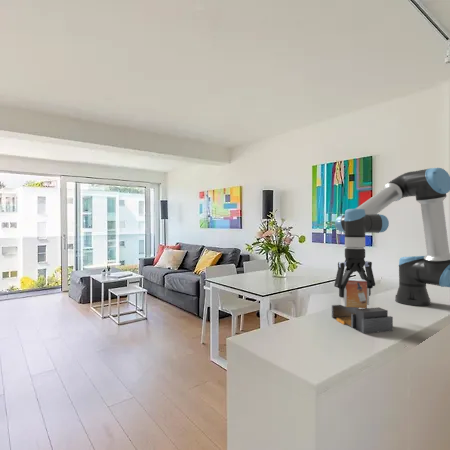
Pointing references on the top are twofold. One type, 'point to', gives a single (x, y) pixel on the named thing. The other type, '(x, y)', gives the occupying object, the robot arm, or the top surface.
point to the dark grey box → (368, 315)
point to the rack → (368, 324)
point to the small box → (356, 293)
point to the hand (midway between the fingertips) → (355, 304)
